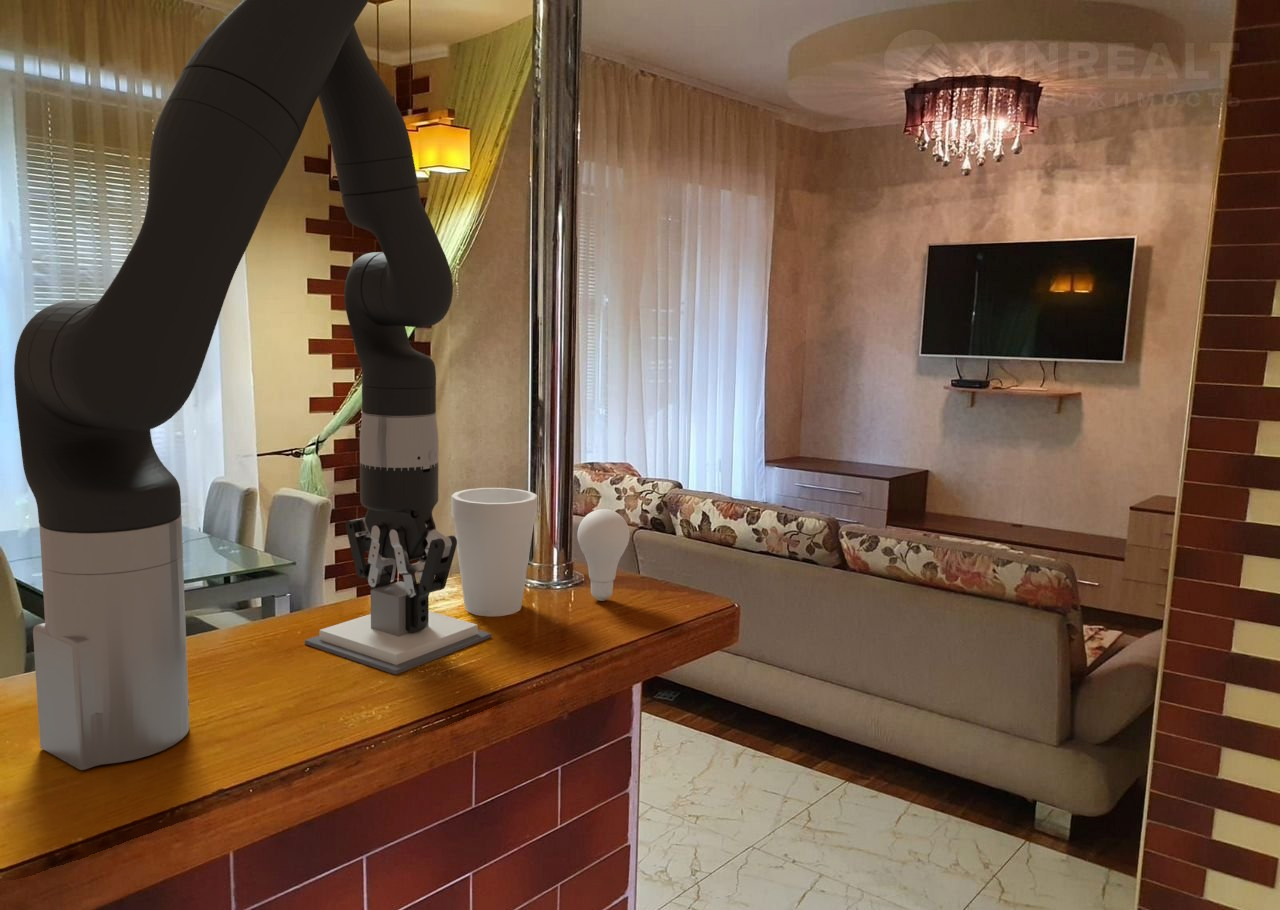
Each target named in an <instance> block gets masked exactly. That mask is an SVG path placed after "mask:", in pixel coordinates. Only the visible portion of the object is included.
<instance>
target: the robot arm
mask: <svg viewBox="0 0 1280 910" xmlns="http://www.w3.org/2000/svg"><path fill="white" fill-rule="evenodd" d="M369 1H370V0H242V1H241V2H240V3H239V4H238V5H237V6H236V7H235V8H234V9H233V10H232V11H231V12H229V14H228V15H227V16H225V17H224V18H223V19H222V21H220V22H219V24H217V25H216V26H215V27H214V29H213V30H212V31H211V32H210V34H208V35H207V37H206V38H205V39H204V40H203V42H201V43H200V45H199V46H198V48H197V49H196V50H195V51H194V53H193V54H192V56H190V58H189V60H188V62H187V63H186V64H185V66H184V68H183V70H182V72H181V74H180V76H179V78H178V80H177V81H176V83H175V86H174V87H173V89H172V91H171V93H170V95H169V97H168V99H167V101H166V102H165V104H164V106H163V108H162V111H161V112H160V115H159V117H158V120H157V122H156V125H155V127H154V131H153V134H152V135H153V137H152V141H151V146H150V156H149V157H150V158H149V170H148V173H149V174H148V197H147V205H146V210H145V215H144V219H143V222H142V225H141V227H140V230H139V233H138V234H137V237H136V238H135V239H136V240H135V242H134V244H133V246H132V248H131V249H130V251H129V252H128V254H127V256H126V258H125V260H124V262H123V263H122V265H121V266H120V268H119V271H118V272H117V274H116V276H115V277H114V278H113V280H112V282H111V283H110V285H109V286H108V287H107V289H106V291H105V292H104V293H103V295H102V296H101V298H99V299H71V300H64V301H59V302H57V303H53V304H51V305H48V306H46V307H44V308H43V309H41V310H40V311H38V312H37V313H35V314H34V316H33V317H31V318H30V320H28V322H27V324H26V325H25V326H24V328H23V329H22V332H21V334H20V336H19V338H18V342H17V343H16V348H15V354H14V364H13V366H14V367H13V369H14V371H13V377H14V378H13V379H14V395H15V403H16V414H17V422H18V432H19V440H20V451H21V460H22V461H21V462H22V466H23V467H22V468H23V472H24V476H25V479H26V482H27V484H28V486H29V489H30V491H31V493H32V494H33V497H34V499H35V503H36V507H37V508H36V509H37V516H38V518H37V519H38V524H39V537H40V539H39V540H40V541H39V542H40V555H41V557H40V558H41V559H40V560H41V574H42V575H41V576H42V591H43V592H42V593H43V608H44V611H43V612H44V622H42V623H38V624H36V625H35V626H33V629H32V636H33V638H32V639H33V650H34V651H33V653H34V669H35V682H36V683H35V684H36V685H35V687H36V700H37V715H38V716H37V717H38V730H39V731H38V732H39V746H40V747H39V748H41V749H42V750H44V751H46V752H48V753H49V754H51V755H53V756H54V757H57V758H58V759H60V760H62V761H64V762H65V763H66V764H69V765H70V766H71V767H74V768H76V769H77V770H80V771H85V770H89V769H90V768H93V767H94V768H95V767H97V766H102V765H109V764H117V763H122V762H124V763H125V762H128V761H129V762H130V761H134V760H139V759H141V758H144V757H148V756H151V755H154V754H158V753H161V752H162V751H165V750H166V749H169V748H170V747H173V746H174V745H176V744H178V743H179V742H180V741H181V740H183V739H184V737H186V736H187V735H188V732H189V730H190V712H189V710H190V709H189V708H190V699H189V681H188V680H189V679H188V678H189V677H188V658H187V657H188V655H187V653H188V652H187V650H188V649H187V630H186V629H187V628H186V627H187V626H186V625H187V624H186V604H185V603H186V601H185V600H186V599H185V598H186V597H185V577H184V576H185V575H184V574H185V573H184V548H183V547H184V546H183V526H182V525H183V523H182V522H183V521H182V517H183V516H182V501H181V500H182V499H181V497H182V496H181V488H180V483H179V482H178V480H177V478H176V477H175V476H174V475H173V473H171V471H170V470H169V469H168V468H167V467H166V466H165V465H164V464H163V462H162V461H161V459H160V457H159V456H158V454H157V452H156V449H155V447H154V445H153V439H152V434H151V430H153V429H155V428H157V427H160V426H161V425H164V424H165V423H166V422H168V420H170V419H171V418H173V416H175V415H176V414H178V412H179V411H180V410H181V409H182V408H183V406H184V405H185V404H186V402H187V401H188V399H189V398H190V396H191V394H192V392H193V390H194V388H195V385H196V383H197V380H198V379H199V377H200V374H201V371H202V367H203V365H204V362H205V359H206V358H207V353H208V351H209V348H210V344H211V341H212V338H213V335H214V333H215V330H216V326H217V323H218V320H219V317H220V315H221V312H222V308H223V305H224V302H225V299H226V297H227V294H228V292H229V288H230V285H231V283H232V282H233V278H234V275H235V273H236V271H237V269H238V266H239V265H240V263H241V260H242V258H243V256H244V254H245V252H246V250H247V248H248V246H249V244H250V242H251V240H252V238H253V236H254V234H255V231H256V229H257V227H258V224H259V222H260V220H261V218H262V215H263V213H264V211H265V209H266V206H267V204H268V202H269V199H270V198H271V196H272V195H273V192H274V190H275V188H276V187H277V184H278V182H279V181H280V179H281V177H282V176H283V173H285V170H286V168H287V166H288V164H289V162H290V160H291V157H292V156H293V153H294V151H295V149H296V147H297V146H298V142H299V140H300V139H301V135H302V133H303V132H304V128H305V126H306V123H307V121H308V118H309V116H310V114H311V112H312V109H313V107H314V105H315V104H316V101H317V99H318V100H319V103H320V104H319V105H320V107H321V110H322V113H323V118H324V120H325V121H324V123H325V125H326V129H327V133H328V138H329V142H330V146H331V151H332V155H333V156H332V157H333V162H334V165H335V172H336V176H337V177H336V178H337V182H338V185H339V190H340V194H341V199H342V205H343V209H344V211H345V212H344V213H345V214H346V218H347V219H348V221H349V222H350V223H351V224H352V225H353V226H355V227H357V228H359V229H363V230H365V231H368V232H370V233H372V235H374V237H375V238H376V240H377V242H378V245H379V246H380V249H381V250H382V251H377V252H376V251H374V252H368V253H364V254H362V255H360V257H358V258H356V259H355V260H354V262H353V264H352V265H351V266H350V268H349V270H348V272H347V275H346V279H345V283H344V290H343V291H344V292H343V293H344V295H343V297H344V298H343V299H344V307H345V311H346V317H347V320H348V324H349V328H350V332H351V335H352V340H353V344H354V349H355V352H356V356H357V358H358V361H359V364H360V369H361V374H362V375H361V379H362V380H361V412H362V413H361V424H360V432H359V488H360V489H359V494H360V495H359V496H360V500H359V501H360V505H362V506H363V507H364V508H365V509H367V510H366V514H365V516H364V517H361V518H356V519H351V520H347V521H346V523H345V530H346V534H347V538H348V543H349V548H350V552H351V555H352V560H353V564H354V569H355V573H356V576H357V577H358V578H360V579H362V578H365V579H366V580H367V582H368V585H369V586H370V587H371V590H372V589H375V588H379V587H382V586H386V585H389V584H392V582H393V583H394V580H395V576H396V571H398V572H397V573H398V574H399V575H401V576H402V577H403V582H404V583H405V589H406V593H407V595H408V596H407V597H406V631H408V632H411V633H415V632H417V631H420V630H423V629H424V628H425V627H426V625H427V623H428V597H429V596H430V593H433V592H437V591H442V590H444V589H445V588H446V584H447V581H448V577H449V574H450V570H451V566H452V563H453V560H454V556H455V552H456V550H457V539H456V536H455V535H448V536H446V535H444V534H442V533H441V532H439V531H438V530H436V529H437V527H436V523H435V521H434V517H433V511H434V508H435V506H436V505H437V504H438V503H439V502H438V501H439V441H440V440H439V429H438V421H437V413H436V412H437V411H436V410H437V407H436V406H437V404H436V403H437V399H436V398H437V390H436V389H437V371H436V365H435V361H433V359H432V358H431V357H430V356H429V355H427V354H425V353H423V352H420V351H418V350H416V349H414V348H413V347H412V345H411V343H410V340H409V339H410V338H409V337H408V333H407V329H406V327H410V328H428V327H431V326H435V325H436V324H439V322H441V321H442V320H443V319H444V318H445V317H446V315H447V314H448V312H449V310H450V307H451V305H452V301H453V294H454V283H453V275H452V271H451V267H450V264H449V261H448V259H447V257H446V254H445V251H444V250H443V247H442V244H441V243H440V240H439V238H438V236H437V234H436V230H435V228H434V226H433V224H432V222H431V219H430V217H429V216H428V214H427V213H428V212H427V211H426V209H425V207H424V205H423V204H422V199H421V195H420V194H421V193H420V189H419V182H418V178H417V171H416V164H415V161H414V156H413V149H412V143H411V139H410V135H409V132H408V128H407V125H406V122H405V121H404V118H403V115H402V113H401V110H400V109H399V106H398V105H397V104H396V101H395V99H394V97H393V96H392V94H391V93H390V91H389V89H388V87H387V86H386V85H385V83H384V81H383V79H382V78H381V77H380V75H379V73H378V72H377V70H376V68H375V67H374V64H373V63H372V61H371V60H370V58H369V56H368V55H367V53H366V51H365V48H364V46H363V44H362V42H361V39H360V37H359V34H358V32H357V29H356V26H355V24H356V21H357V20H358V18H359V17H360V15H361V14H362V12H363V10H364V8H366V6H367V4H368V3H369ZM364 553H367V556H368V558H367V562H366V559H365V554H364ZM414 560H417V562H415V563H410V561H414ZM416 573H417V575H418V578H419V579H418V581H419V582H417V579H416V578H417V577H416Z"/></svg>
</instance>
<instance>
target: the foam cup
mask: <svg viewBox="0 0 1280 910" xmlns="http://www.w3.org/2000/svg"><path fill="white" fill-rule="evenodd" d="M450 498H451V501H450V502H451V504H450V505H451V506H450V507H451V509H450V513H451V514H450V517H451V518H452V519H453V525H454V536H455V538H456V539H457V546H456V551H457V557H458V558H457V559H458V565H459V572H460V573H459V574H460V580H461V589H462V595H463V597H462V598H463V604H464V610H466V611H467V613H470V614H473V615H475V616H481V617H483V616H484V617H503V616H508V615H513V614H515V613H517V612H519V611H521V609H522V602H523V600H524V599H523V598H524V591H525V587H526V586H525V585H526V579H527V573H528V565H529V559H530V552H531V551H530V550H531V545H532V540H533V533H534V525H535V519H537V516H538V495H537V494H536V493H534V492H532V491H530V490H529V491H528V490H525V489H519V488H507V487H478V488H467V489H463V490H459V491H455V492H454V493H452V494H451V497H450Z"/></svg>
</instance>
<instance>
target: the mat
mask: <svg viewBox="0 0 1280 910" xmlns="http://www.w3.org/2000/svg"><path fill="white" fill-rule="evenodd" d="M490 638H492V633H491V632H488V631H484V630H481V629H478V634H476V635H474V636H471V637H468V638H466V639H463V640H461V641H458V642H455V643H453V644H450V645H447V646H445V647H442V648H440V649H437V650H434V651H432V652H429V653H426V654H424V655H421V656H419V657H416V658H413V659H411V660H408V661H405V662H403V663H400V664H398V665H395V664H392V663H389V662H386V661H383V660H380V659H377V658H374V657H371V656H368V655H365V654H362V653H359V652H356V651H353V650H350V649H347V648H344V647H341V646H337V645H334V644H331V643H328V642H325V641H322V640H320V634H319V635H316V636H313V637H310V638H307V639H304V645H306V646H310V647H312V648H316V649H318V650H321V651H323V652H327V653H331V654H333V655H336V656H339V657H342V658H346V659H349V660H351V661H354V662H356V663H360V664H363V665H366V666H370V667H372V668H374V669H378V670H381V671H383V672H387V673H389V674H392V675H395V676H397V675H399V674H402V673H404V672H406V671H409V670H412V669H415V668H417V667H419V666H422V665H425V664H428V663H430V662H432V661H434V660H437V659H439V658H441V657H445V656H448V655H450V654H452V653H455V652H458V651H460V650H462V649H465V648H467V647H469V646H474V645H475V644H478V643H480V642H482V641H483V642H484V641H486V640H489V639H490Z"/></svg>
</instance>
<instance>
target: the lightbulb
mask: <svg viewBox="0 0 1280 910" xmlns="http://www.w3.org/2000/svg"><path fill="white" fill-rule="evenodd" d="M576 535H577V541H578V542H577V543H578V545H579V547H580V550H581V552H582V553H583V555H584V557H585V560H586V563H587V568H588V577H589V579H590V594H591V596H592V597H593V598H595V599H596V600H597V601H599V602H603V601H606V600H607V599H609V598H611V597H612V596H613V592H614V591H613V590H614V580H616V576H617V575H616V574H617V569H618V564H619V563H620V560H621V557H622V556H623V555H624V553H625V551H626V549H627V547H628V545H629V541H630V538H631V537H630V528H629V525H628V523H627V521H626V519H625V518H624V517H623V516H622V515H621V514H619V512H616V511H615V510H613V509H608V508H599V509H595V510H593V511H591V512H589V513H588V514H586V515H585V516H584V517H583V518H582V520H581V522H580V523H579V525H578V528H577V534H576Z"/></svg>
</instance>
